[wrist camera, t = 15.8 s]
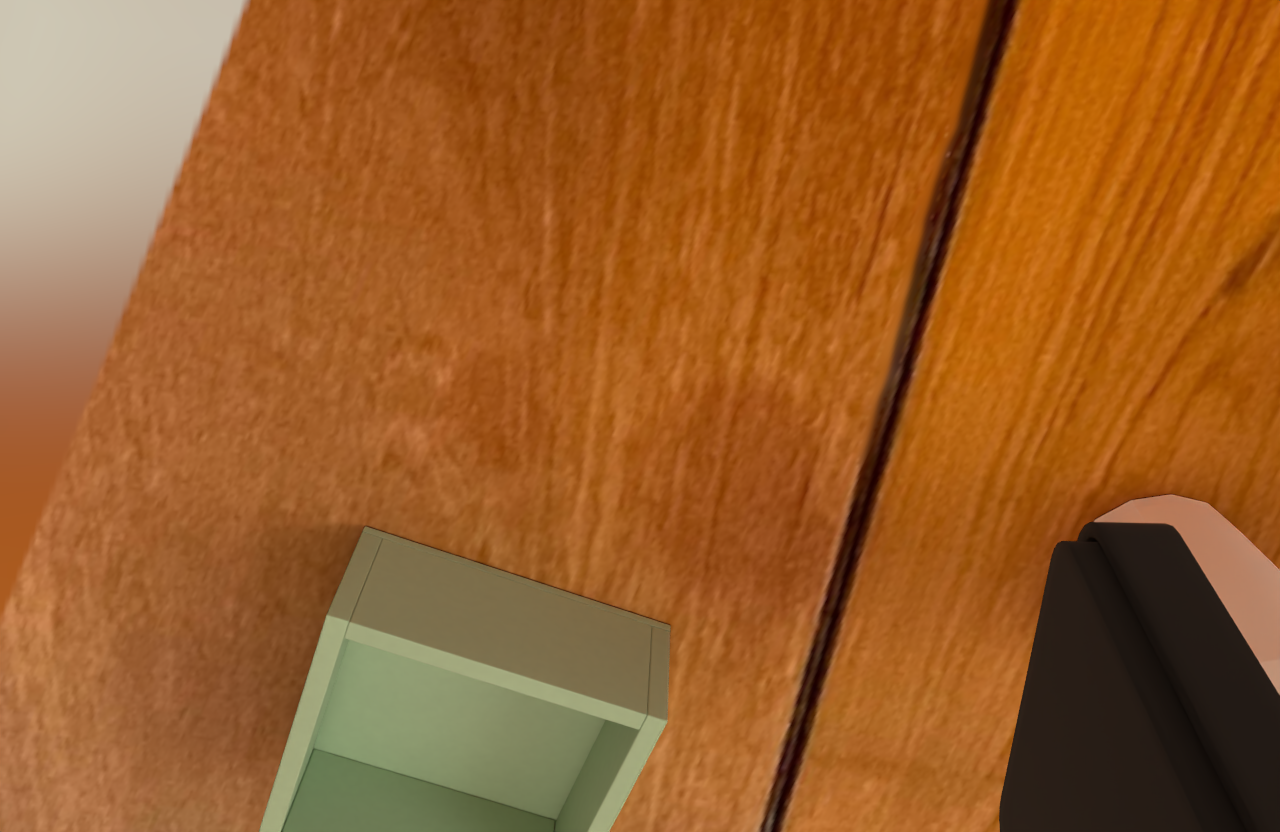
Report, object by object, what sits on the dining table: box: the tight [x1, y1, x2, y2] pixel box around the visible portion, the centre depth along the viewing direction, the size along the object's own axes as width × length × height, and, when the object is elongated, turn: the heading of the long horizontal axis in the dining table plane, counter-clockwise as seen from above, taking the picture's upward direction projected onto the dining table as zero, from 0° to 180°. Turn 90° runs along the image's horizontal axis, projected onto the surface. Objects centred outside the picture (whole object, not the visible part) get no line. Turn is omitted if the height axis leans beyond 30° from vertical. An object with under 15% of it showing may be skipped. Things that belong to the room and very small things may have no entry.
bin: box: [259, 526, 670, 832], centre depth 47 cm, size 13×13×5 cm
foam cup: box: [1094, 494, 1280, 695], centre depth 39 cm, size 10×9×13 cm
